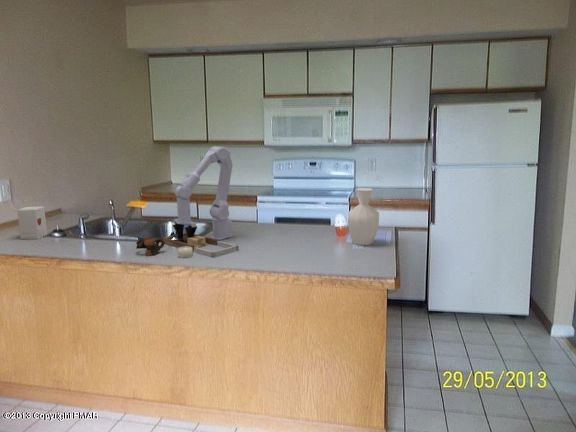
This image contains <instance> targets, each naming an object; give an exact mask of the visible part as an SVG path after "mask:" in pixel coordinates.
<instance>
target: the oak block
mask: <svg viewBox="0 0 576 432" xmlns="http://www.w3.org/2000/svg"><path fill="white" fill-rule="evenodd" d="M200 236H201V235H200ZM200 236H193V237H190V238H186V239H187V244H190V245H194V249H195V248H196V247H198V248H202V247H205V246H206V244H207V243H205V237H206V236H205V237H200Z"/></svg>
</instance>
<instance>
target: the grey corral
mask: <svg viewBox="0 0 576 432" xmlns="http://www.w3.org/2000/svg"><path fill="white" fill-rule="evenodd" d="M217 246H218V247H220V248H221V249H219V250H215V251H212V250H210V249H209V250H208V249H204V248H202V247H199V248H198V247H196V248H194V252H195V253H196V254H199V255H203V256H205V257H207V256H208V257H210V258H216V257H219V256H223V255H226V254H230V253H233V252H236V251H237V252H238V251H239V245H237V244H235V243H234V244H233V243H229V242H225V241H221V240H218V241H217Z"/></svg>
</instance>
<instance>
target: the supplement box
mask: <svg viewBox="0 0 576 432" xmlns="http://www.w3.org/2000/svg"><path fill="white" fill-rule="evenodd" d="M45 210H46V209H45V206H40V205H39V206H25V207H22V208H19V209H17V211H16V212H17V219H18V226H19V234H20V240H39V239H41V238H43V236H44V237H46V236H47V235H48V229H47V221H46V212H45ZM45 235H46V236H45Z"/></svg>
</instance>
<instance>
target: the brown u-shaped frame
mask: <svg viewBox="0 0 576 432" xmlns="http://www.w3.org/2000/svg"><path fill="white" fill-rule="evenodd" d="M176 236H177V234H174V235H170V236H169V235H168V236H165V237H161V239H163V240H164V241H165V244H164V245H167V246H169V247H170V246H171V247H174V248H177V249H178V248H179V247H183V246H190V247H192V251H193V252H195V248H194V245H190V244H188V243H186V242H182V241H180V240H177V241H175V240H171V239H172V238H173V237H176ZM194 236H200V237H205V243H206V244H209V245H214V246H218V240H217V239H213V238H209V237H210V236H205V235H199V234H196V233H195V234H194ZM187 238H188V237H187V232H186V231H185V232H183V239H182V240H184V239H187Z"/></svg>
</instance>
